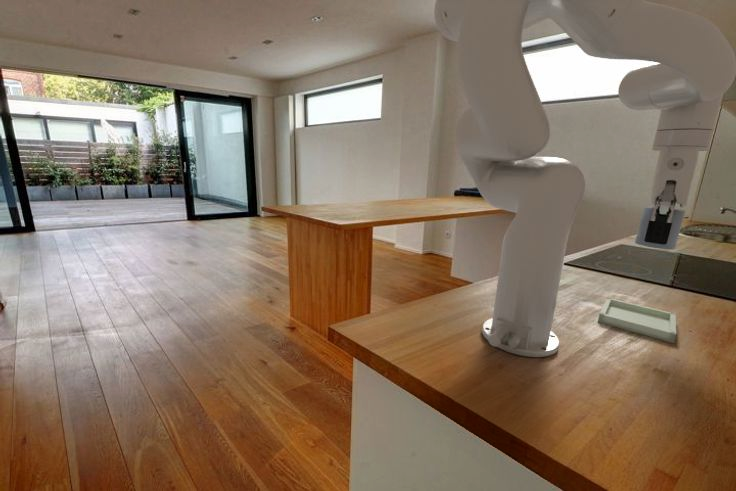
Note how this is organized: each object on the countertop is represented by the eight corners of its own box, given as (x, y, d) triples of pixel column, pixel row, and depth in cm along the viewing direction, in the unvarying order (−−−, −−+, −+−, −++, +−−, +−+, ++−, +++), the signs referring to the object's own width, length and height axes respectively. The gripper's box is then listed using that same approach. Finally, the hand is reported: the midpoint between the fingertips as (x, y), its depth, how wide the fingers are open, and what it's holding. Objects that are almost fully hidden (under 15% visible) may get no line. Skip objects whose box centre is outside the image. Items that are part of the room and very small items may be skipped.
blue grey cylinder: (675, 251, 61) (686, 212, 59) (633, 244, 64) (642, 208, 63) (674, 245, 65) (684, 209, 63) (635, 239, 69) (644, 205, 67)
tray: (673, 343, 61) (676, 334, 60) (597, 322, 68) (599, 313, 68) (673, 321, 69) (675, 313, 69) (605, 304, 77) (607, 297, 76)
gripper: (715, 138, 51) (683, 252, 56) (705, 144, 64) (680, 237, 69) (652, 138, 56) (627, 243, 60) (654, 144, 69) (634, 231, 73)
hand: (655, 239), depth 64 cm, fingers closed on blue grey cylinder, 6 cm apart
